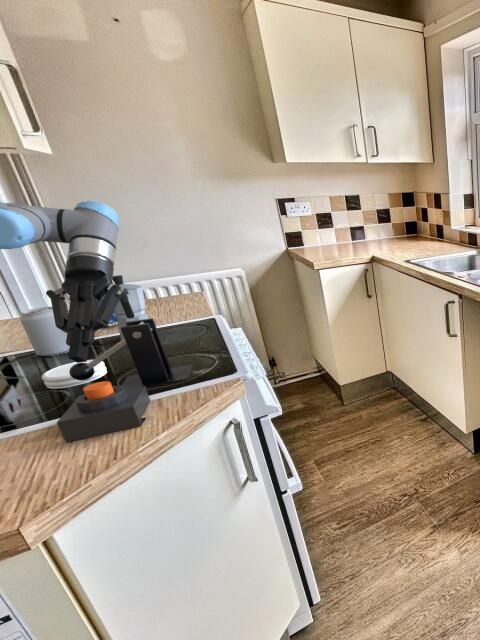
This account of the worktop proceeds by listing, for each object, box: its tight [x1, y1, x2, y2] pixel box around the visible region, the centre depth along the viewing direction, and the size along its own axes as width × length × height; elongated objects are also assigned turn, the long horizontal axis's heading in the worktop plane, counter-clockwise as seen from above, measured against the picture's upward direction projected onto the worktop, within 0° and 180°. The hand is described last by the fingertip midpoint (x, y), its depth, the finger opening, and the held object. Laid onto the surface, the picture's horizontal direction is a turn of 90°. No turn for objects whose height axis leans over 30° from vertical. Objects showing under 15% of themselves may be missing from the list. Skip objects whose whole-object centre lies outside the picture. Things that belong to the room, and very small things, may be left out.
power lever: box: [69, 322, 153, 380], centre depth 87 cm, size 16×4×4 cm
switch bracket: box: [121, 317, 195, 390], centre depth 90 cm, size 12×9×14 cm
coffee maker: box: [103, 274, 150, 341], centre depth 117 cm, size 15×9×18 cm, turn 42°
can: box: [19, 306, 70, 357], centre depth 109 cm, size 8×8×12 cm
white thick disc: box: [41, 359, 108, 390], centre depth 93 cm, size 10×10×4 cm
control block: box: [56, 385, 151, 444], centre depth 76 cm, size 10×9×6 cm
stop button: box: [82, 380, 114, 400], centre depth 75 cm, size 4×4×2 cm
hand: (77, 359), depth 85 cm, fingers closed
